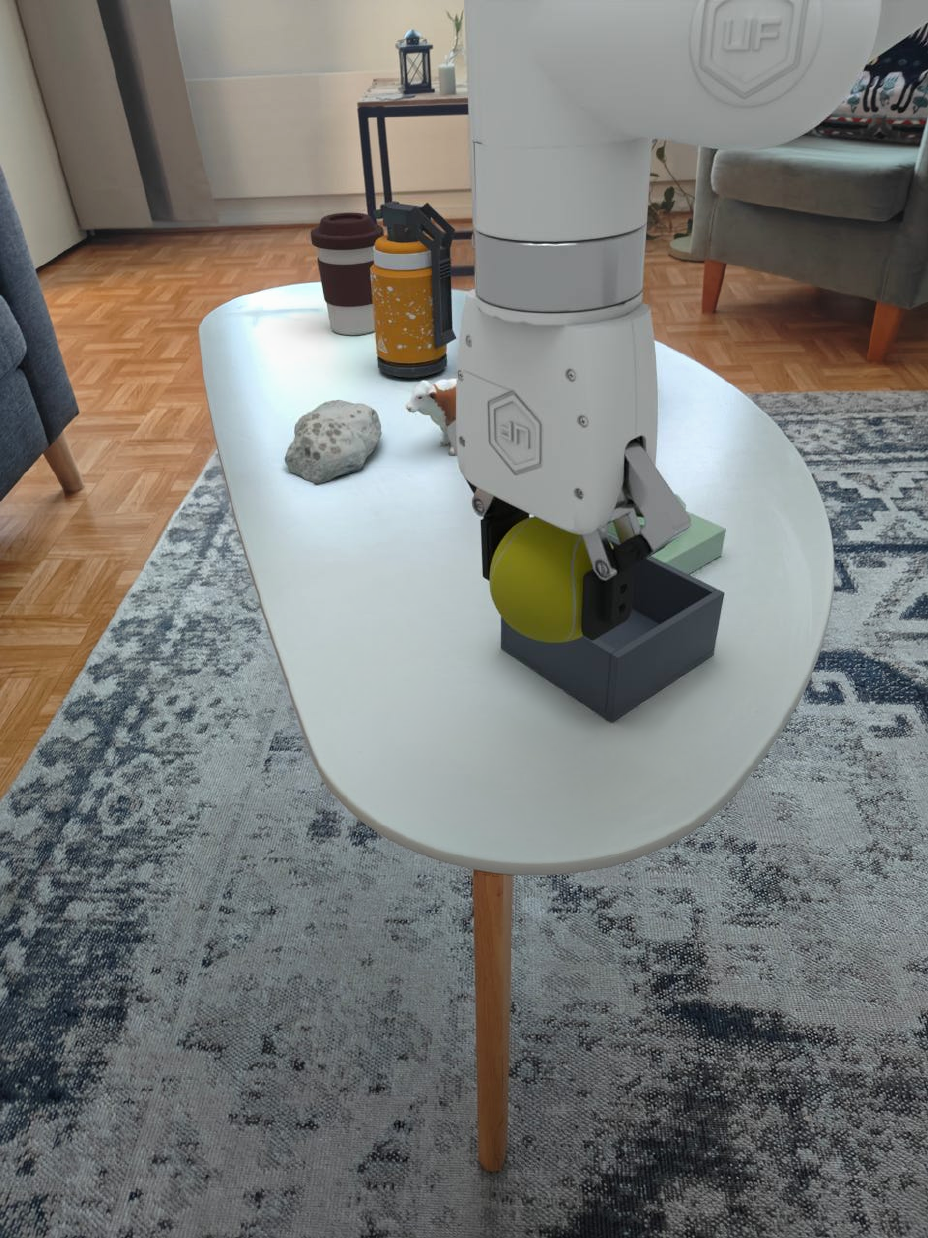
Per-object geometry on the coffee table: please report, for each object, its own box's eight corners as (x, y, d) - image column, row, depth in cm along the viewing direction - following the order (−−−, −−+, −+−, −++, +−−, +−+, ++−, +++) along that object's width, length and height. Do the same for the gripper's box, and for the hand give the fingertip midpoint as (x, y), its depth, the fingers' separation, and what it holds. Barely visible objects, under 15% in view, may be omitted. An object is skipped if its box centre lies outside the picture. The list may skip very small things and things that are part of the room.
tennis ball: (634, 615, 52) (643, 507, 48) (581, 681, 47) (585, 569, 43) (529, 584, 55) (528, 481, 51) (469, 643, 51) (463, 535, 47)
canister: (407, 352, 121) (398, 191, 110) (474, 368, 116) (471, 200, 104) (363, 372, 116) (348, 204, 104) (431, 390, 110) (424, 215, 99)
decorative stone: (279, 439, 99) (273, 396, 97) (376, 427, 102) (372, 384, 99) (290, 488, 90) (283, 442, 87) (396, 474, 92) (393, 428, 89)
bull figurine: (402, 456, 95) (397, 382, 90) (483, 416, 103) (483, 346, 99) (432, 468, 93) (429, 392, 88) (513, 426, 101) (514, 354, 96)
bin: (713, 655, 67) (725, 592, 63) (611, 723, 61) (618, 658, 58) (601, 592, 74) (606, 533, 70) (500, 648, 68) (500, 586, 65)
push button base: (721, 555, 78) (729, 509, 75) (654, 594, 73) (660, 547, 71) (625, 510, 85) (629, 466, 82) (558, 543, 80) (560, 498, 77)
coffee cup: (352, 313, 136) (342, 206, 127) (403, 324, 131) (397, 214, 123) (307, 331, 130) (293, 220, 121) (359, 343, 125) (349, 228, 116)
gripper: (375, 253, 44) (406, 565, 54) (656, 328, 32) (627, 703, 43) (491, 225, 47) (499, 521, 58) (777, 284, 36) (724, 637, 47)
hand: (553, 596), depth 50 cm, fingers closed on tennis ball, 7 cm apart
